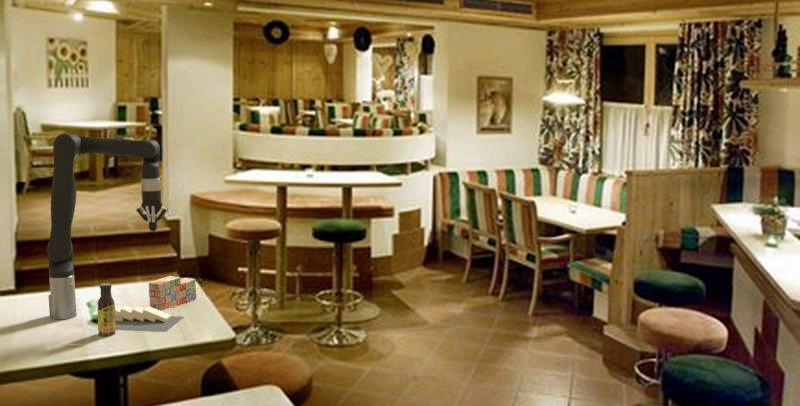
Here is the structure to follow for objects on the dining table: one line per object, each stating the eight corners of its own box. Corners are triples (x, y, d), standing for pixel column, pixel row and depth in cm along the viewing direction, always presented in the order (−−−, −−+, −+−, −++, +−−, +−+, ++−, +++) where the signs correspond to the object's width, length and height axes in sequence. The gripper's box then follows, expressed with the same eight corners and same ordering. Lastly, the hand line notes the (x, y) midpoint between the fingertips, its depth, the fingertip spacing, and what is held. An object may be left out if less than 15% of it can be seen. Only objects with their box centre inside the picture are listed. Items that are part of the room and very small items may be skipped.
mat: (103, 330, 294) (103, 329, 294) (125, 315, 313) (125, 314, 312) (165, 332, 292) (165, 331, 291) (184, 317, 310) (184, 316, 310)
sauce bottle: (105, 338, 284) (102, 287, 281) (94, 335, 288) (91, 285, 284) (120, 334, 290) (117, 283, 287) (109, 331, 293) (106, 281, 290)
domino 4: (154, 322, 303) (131, 312, 303) (159, 318, 308) (136, 309, 308) (155, 318, 303) (132, 309, 303) (160, 314, 308) (137, 305, 308)
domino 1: (122, 320, 304) (98, 320, 305) (127, 317, 309) (104, 316, 310) (122, 317, 304) (98, 316, 305) (127, 313, 309) (104, 312, 310)
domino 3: (142, 321, 304) (119, 312, 304) (148, 317, 309) (125, 308, 309) (144, 318, 303) (121, 308, 304) (149, 314, 308) (126, 305, 308)
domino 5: (165, 322, 303) (142, 313, 303) (170, 318, 308) (147, 309, 308) (166, 318, 302) (143, 309, 303) (171, 315, 307) (148, 306, 308)
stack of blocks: (186, 297, 340) (185, 271, 338) (196, 299, 337) (195, 272, 335) (149, 310, 321) (148, 281, 319) (160, 312, 318) (159, 283, 316)
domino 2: (132, 321, 304) (109, 311, 304) (137, 317, 309) (114, 308, 309) (133, 317, 304) (110, 308, 304) (138, 314, 309) (116, 304, 309)
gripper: (170, 188, 311) (172, 229, 314) (139, 187, 312) (141, 228, 315) (163, 190, 303) (165, 233, 306) (131, 190, 305) (133, 232, 307)
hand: (153, 230), depth 310 cm, fingers closed
